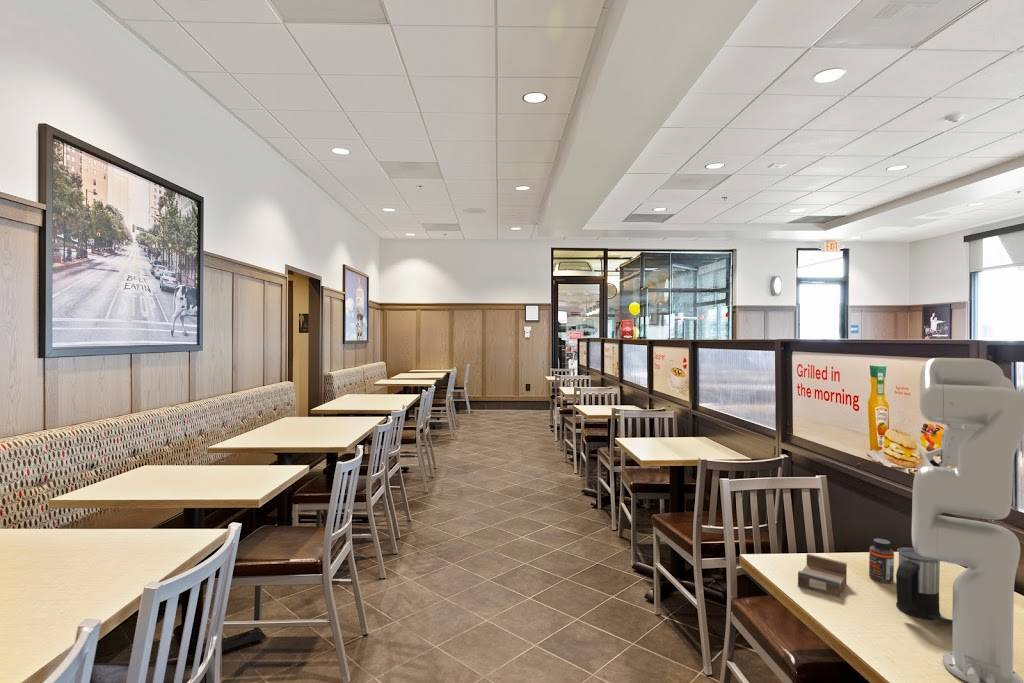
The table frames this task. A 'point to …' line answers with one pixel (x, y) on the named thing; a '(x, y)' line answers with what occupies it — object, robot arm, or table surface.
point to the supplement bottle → (881, 561)
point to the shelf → (823, 575)
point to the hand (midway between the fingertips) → (964, 486)
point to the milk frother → (918, 585)
